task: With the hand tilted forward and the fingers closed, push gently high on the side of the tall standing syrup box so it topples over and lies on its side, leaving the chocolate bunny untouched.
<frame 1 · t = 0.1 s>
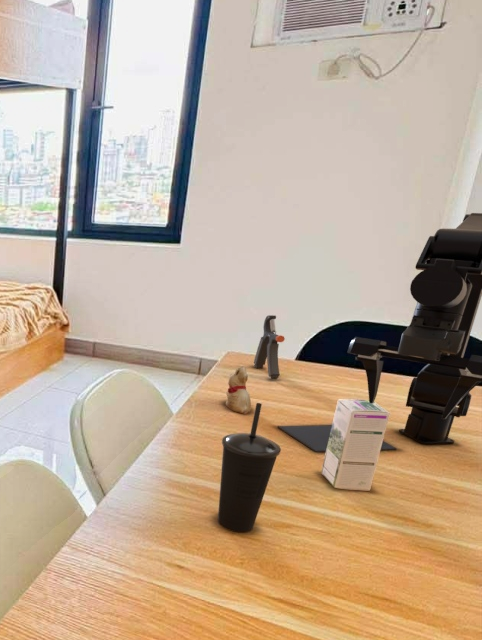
hand: (406, 410, 99), 15 cm above the table, tool pointing down, fingers open, 9 cm apart
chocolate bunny: (236, 407, 143), on the table
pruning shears: (265, 374, 165), on the table
drinking cup: (234, 525, 97), on the table
placemat: (334, 438, 126), on the table
syrup box: (343, 483, 109), on the table
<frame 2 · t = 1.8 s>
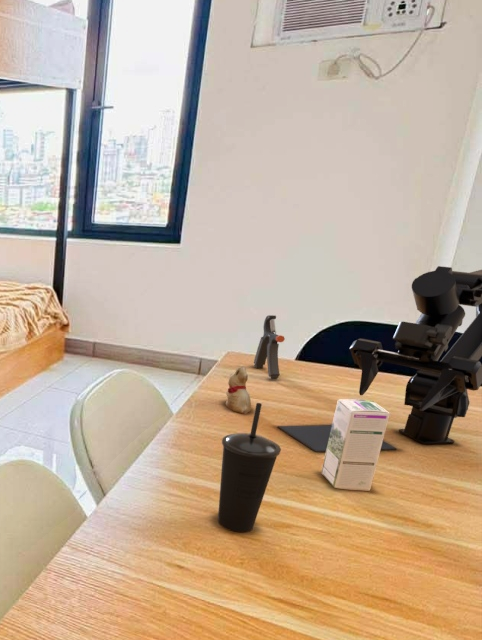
hand: (389, 401, 111), 12 cm above the table, tool tilted 45°, fingers open, 9 cm apart
nothing on the table moved.
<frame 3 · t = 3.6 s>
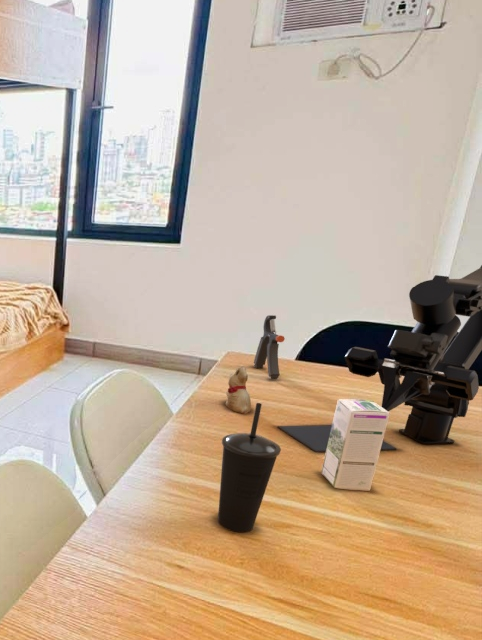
hand: (384, 410, 110), 11 cm above the table, tool tilted 45°, fingers closed
nothing on the table moved.
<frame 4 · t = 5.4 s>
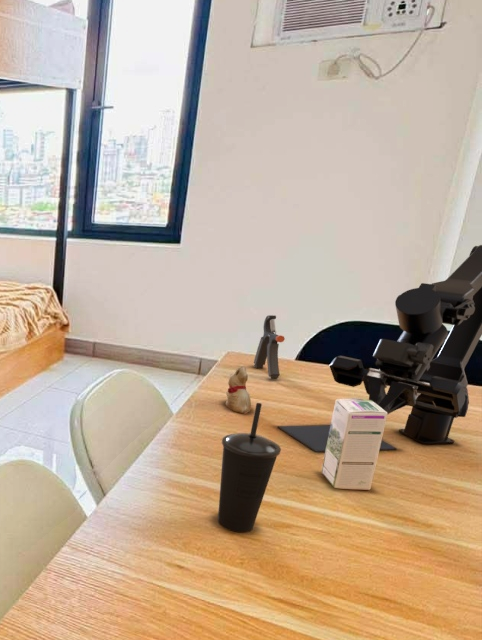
hand: (368, 421, 107), 11 cm above the table, tool tilted 45°, fingers closed
syrup box: (344, 482, 109), on the table, touching gripper
everything else where it was.
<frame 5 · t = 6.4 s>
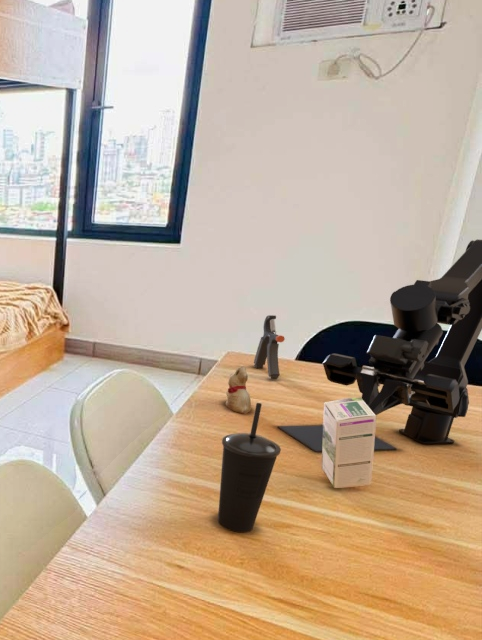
hand: (361, 419, 105), 12 cm above the table, tool tilted 50°, fingers closed
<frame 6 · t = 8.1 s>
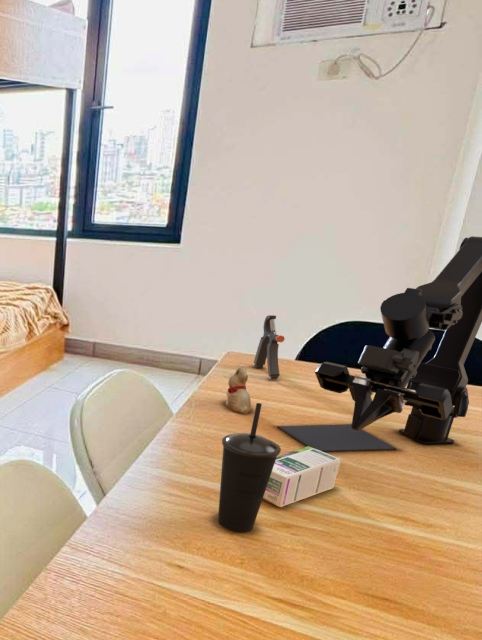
hand: (354, 429, 105), 10 cm above the table, tool tilted 45°, fingers closed
syrup box: (322, 467, 109), point 3 cm above the table
everything else where it was.
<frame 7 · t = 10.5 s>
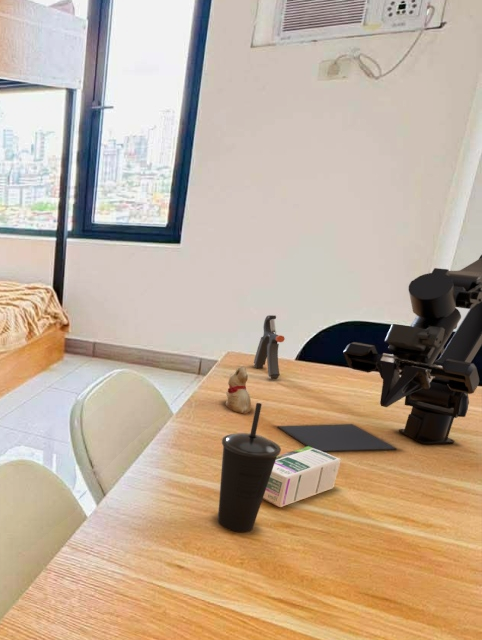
hand: (383, 405, 109), 13 cm above the table, tool tilted 45°, fingers closed
nothing on the table moved.
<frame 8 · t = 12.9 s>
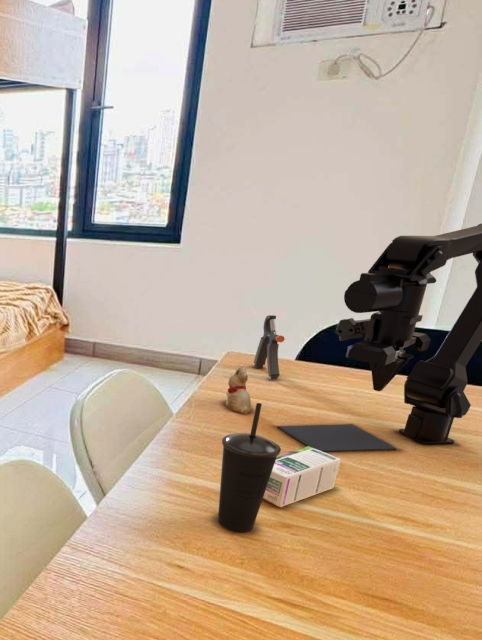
hand: (377, 390, 117), 12 cm above the table, tool pointing down, fingers closed
nothing on the table moved.
at the end: syrup box tilted 89°; syrup box point 2.8 cm above the table; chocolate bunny moved 0.2 cm from its start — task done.
